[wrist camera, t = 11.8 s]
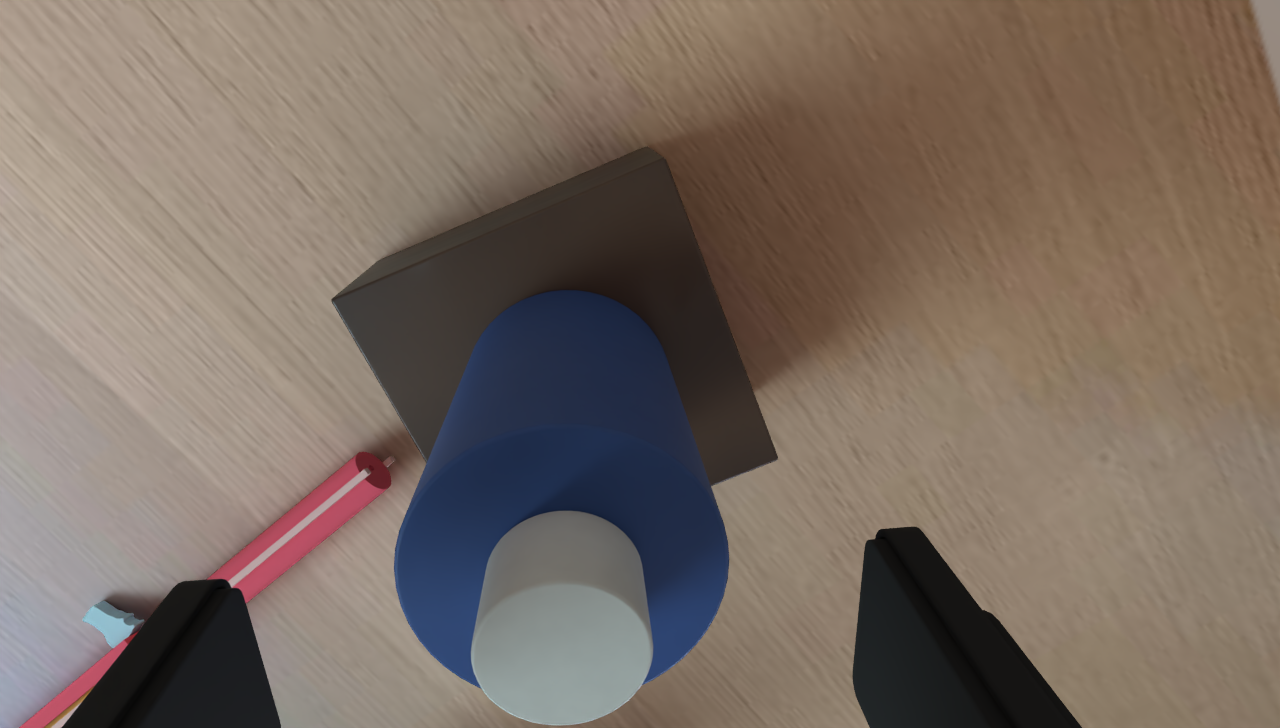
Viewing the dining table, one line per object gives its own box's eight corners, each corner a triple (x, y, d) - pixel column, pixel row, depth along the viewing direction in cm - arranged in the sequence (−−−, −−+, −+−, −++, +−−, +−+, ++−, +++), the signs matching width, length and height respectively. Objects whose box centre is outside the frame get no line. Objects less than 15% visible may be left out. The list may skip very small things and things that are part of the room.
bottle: (454, 295, 20) (326, 502, 10) (668, 283, 20) (759, 470, 10) (478, 484, 22) (394, 817, 12) (672, 470, 23) (751, 781, 12)
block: (376, 261, 25) (329, 300, 20) (648, 145, 24) (665, 156, 19) (505, 494, 28) (490, 574, 23) (745, 398, 27) (779, 460, 23)
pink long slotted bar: (-52, 738, 31) (17, 824, 31) (-109, 771, 29) (-35, 863, 29) (347, 399, 27) (425, 496, 27) (315, 408, 25) (400, 514, 25)
